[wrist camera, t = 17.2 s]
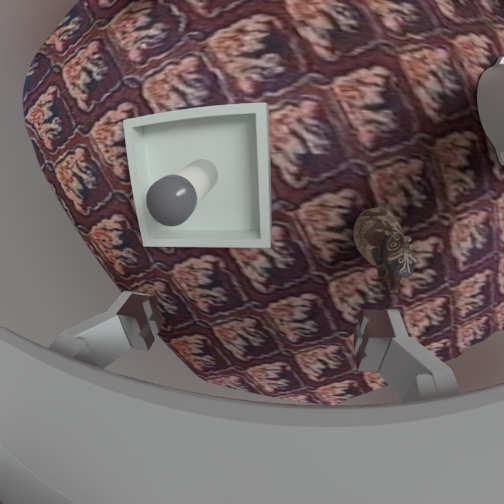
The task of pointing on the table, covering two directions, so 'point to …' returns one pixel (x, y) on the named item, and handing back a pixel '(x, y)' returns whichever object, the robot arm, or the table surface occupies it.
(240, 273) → the table surface
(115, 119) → the table surface
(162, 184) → the shaker
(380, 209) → the figurine
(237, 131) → the tray
